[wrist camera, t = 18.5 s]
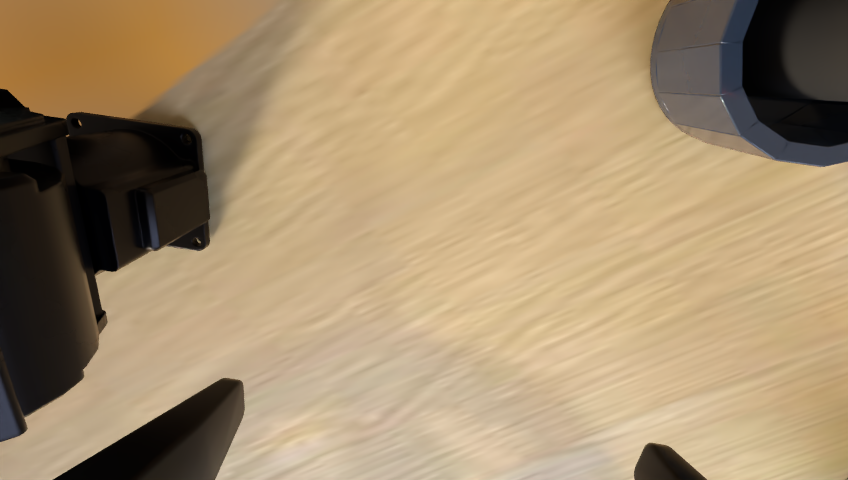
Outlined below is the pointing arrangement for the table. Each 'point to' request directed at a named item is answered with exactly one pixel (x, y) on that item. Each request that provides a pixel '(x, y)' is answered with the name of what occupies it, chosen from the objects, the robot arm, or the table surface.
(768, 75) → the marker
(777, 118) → the pen cup
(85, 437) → the table surface
